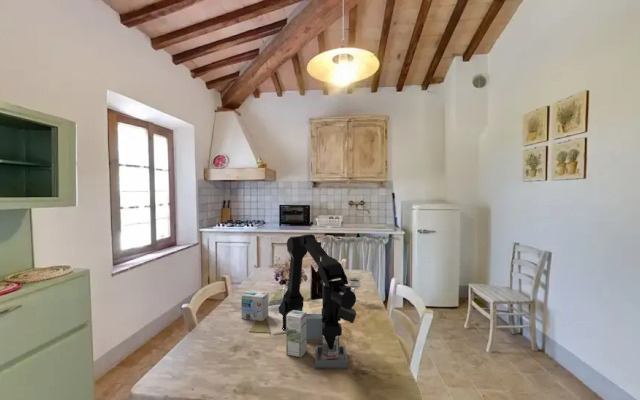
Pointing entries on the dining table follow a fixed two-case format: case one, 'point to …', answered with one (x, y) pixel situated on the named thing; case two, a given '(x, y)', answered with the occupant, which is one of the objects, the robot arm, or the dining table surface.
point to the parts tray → (328, 363)
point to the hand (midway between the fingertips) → (330, 344)
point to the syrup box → (296, 333)
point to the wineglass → (354, 284)
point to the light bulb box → (254, 305)
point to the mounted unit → (314, 328)
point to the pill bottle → (331, 352)
